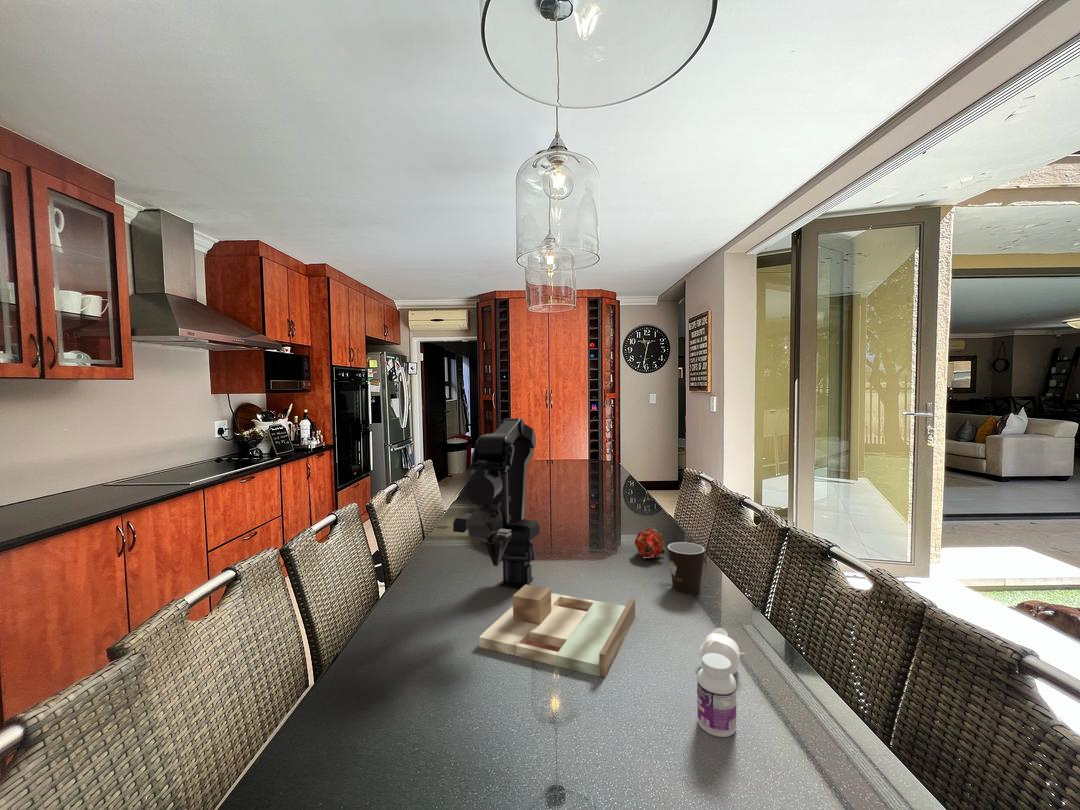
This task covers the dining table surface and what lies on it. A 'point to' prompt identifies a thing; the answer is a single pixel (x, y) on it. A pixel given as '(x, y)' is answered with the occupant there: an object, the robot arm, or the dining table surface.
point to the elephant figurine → (722, 647)
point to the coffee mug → (686, 566)
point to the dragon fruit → (650, 543)
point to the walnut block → (532, 604)
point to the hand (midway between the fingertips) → (496, 565)
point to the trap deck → (566, 634)
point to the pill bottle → (716, 696)
